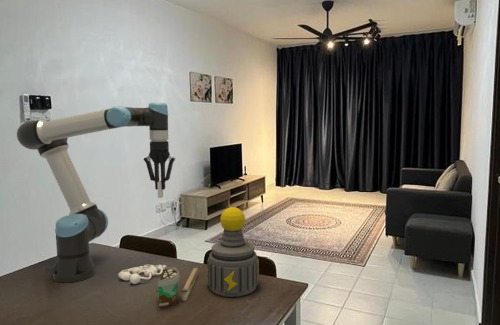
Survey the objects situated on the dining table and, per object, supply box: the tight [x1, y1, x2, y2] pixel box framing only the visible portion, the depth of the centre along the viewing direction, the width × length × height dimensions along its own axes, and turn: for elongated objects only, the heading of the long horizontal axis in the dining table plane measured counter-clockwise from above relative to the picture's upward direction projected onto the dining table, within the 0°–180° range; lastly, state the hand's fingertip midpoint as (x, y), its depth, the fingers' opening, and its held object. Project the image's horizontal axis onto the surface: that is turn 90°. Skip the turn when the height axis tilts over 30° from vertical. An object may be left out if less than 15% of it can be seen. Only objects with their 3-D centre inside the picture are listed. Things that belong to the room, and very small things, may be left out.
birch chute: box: [156, 267, 198, 302], centre depth 143 cm, size 10×22×4 cm, turn 178°
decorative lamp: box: [206, 206, 260, 298], centre depth 142 cm, size 19×19×30 cm
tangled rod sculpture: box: [117, 264, 167, 285], centre depth 154 cm, size 19×14×4 cm
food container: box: [157, 266, 181, 309], centre depth 131 cm, size 12×6×10 cm, turn 2°
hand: (160, 197), depth 161 cm, fingers closed
